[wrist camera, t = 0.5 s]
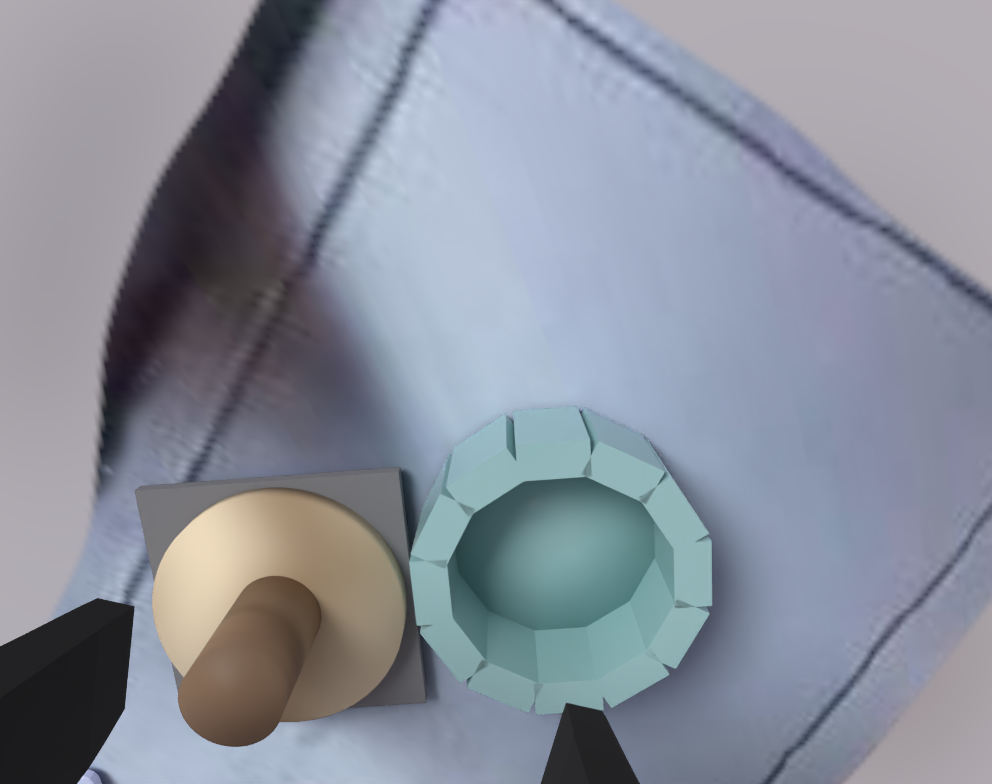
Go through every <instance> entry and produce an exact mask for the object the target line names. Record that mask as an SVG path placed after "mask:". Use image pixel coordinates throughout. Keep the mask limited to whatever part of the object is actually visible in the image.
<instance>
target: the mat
mask: <svg viewBox="0 0 992 784" xmlns="http://www.w3.org/2000/svg"><path fill="white" fill-rule="evenodd" d="M275 487H284V488H293V489H301V490H305V491H309V492H314V493H317V494H320V495H323V496H325V497H328V498H331V499H333V500H335V501H337V502H339V503H341V504H343V505H345V506H347V507H348V508H350V509H351V510H353V511H354V512H356V513H357V514H359V515H360V516H361V517H363V518H364V519H365V520H366V521H367V522H368V523H369V524H371V525H372V526H373V527H374V528H375V529H376V531H377V532H378V533H379V534H380V535H381V536H382V537H383V538H384V540H385V541H386V543H387V544H388V546H389V547H390V549H391V550H392V552H393V554H394V556H395V558H396V560H397V562H398V564H399V566H400V569H401V572H402V575H403V578H404V583H405V588H406V593H407V614H406V622H405V627H404V631H403V635H402V639H401V643H400V647H399V651H398V653H397V655H396V658H395V660H394V662H393V664H392V666H391V667H390V669H389V671H388V672H387V674H386V676H385V677H384V678H383V679H382V680H381V682H380V683H379V684H378V685H377V686H376V687H375V688H374V689H373V690H372V691H371V692H370V693H369V694H368V695H367V696H365V697H364V698H362V699H361V700H360V701H358V702H357V703H355V704H354V705H352V706H350V707H348V708H352V707H367V706H383V705H398V704H413V703H426V700H427V688H426V680H425V671H424V663H423V655H422V646H421V638H420V629H419V626H417V624H416V616H415V607H414V599H413V591H412V582H411V574H410V565H409V561H410V557H411V553H410V545H409V537H408V528H407V520H406V511H405V503H404V495H403V486H402V478H401V469H400V467H394V468H380V469H367V470H353V471H339V472H326V473H312V474H298V475H285V476H271V477H257V478H244V479H230V480H216V481H202V482H189V483H175V484H161V485H148V486H140V487H139V488H138V489H136V490H135V495H136V500H137V505H138V509H139V514H140V518H141V523H142V528H143V532H144V537H145V542H146V546H147V551H148V555H149V560H150V565H151V569H152V574H153V579H154V581H155V577H156V574H157V570H158V567H159V564H160V562H161V560H162V558H163V556H164V554H165V552H166V551H167V549H168V548H169V546H170V545H171V543H172V542H173V541H174V539H175V538H176V537H177V536H178V535H179V534H180V533H181V532H182V531H183V530H184V529H185V528H186V527H187V526H188V524H189V523H190V522H191V521H192V520H193V519H194V518H195V517H197V516H198V515H199V514H200V513H202V512H203V511H204V510H205V509H207V508H208V507H210V506H211V505H213V504H215V503H217V502H218V501H220V500H222V499H224V498H227V497H229V496H232V495H234V494H237V493H241V492H244V491H248V490H253V489H260V488H275ZM172 666H173V671H174V676H175V680H176V685H177V690H178V692H179V687H180V684H181V682H182V680H183V678H184V677H183V676H182V675H181V673H180V672H179V671H178V670H177V668H176V667H175V666H174V665H173V663H172Z"/></svg>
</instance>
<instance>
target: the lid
mask: <svg viewBox="0 0 992 784" xmlns="http://www.w3.org/2000/svg"><path fill="white" fill-rule="evenodd" d="M406 614H407V593H406V588H405V583H404V578H403V575H402V572H401V569H400V566H399V564H398V562H397V560H396V558H395V556H394V554H393V552H392V550H391V549H390V547H389V546H388V544H387V543H386V541H385V540H384V538H383V537H382V536H381V535H380V534H379V533H378V532H377V531H376V529H375V528H374V527H373V526H372V525H371V524H369V523H368V522H367V521H366V520H365V519H364V518H363V517H361V516H360V515H359V514H357V513H356V512H354V511H353V510H351V509H350V508H348V507H347V506H345V505H343V504H341V503H339V502H337V501H335V500H333V499H331V498H328V497H325V496H323V495H320V494H317V493H314V492H309V491H305V490H301V489H293V488H284V487H275V488H260V489H253V490H248V491H244V492H241V493H237V494H234V495H232V496H229V497H227V498H224V499H222V500H220V501H218V502H217V503H215V504H213V505H211V506H210V507H208V508H207V509H205V510H204V511H203V512H202V513H200V514H199V515H198V516H197V517H195V518H194V519H193V520H192V521H191V522H190V523H189V524H188V526H187V527H186V528H185V529H184V530H183V531H182V532H181V533H180V534H179V535H178V536H177V537H176V538H175V539H174V541H173V542H172V543H171V545H170V546H169V548H168V549H167V551H166V552H165V554H164V556H163V558H162V560H161V562H160V564H159V567H158V570H157V574H156V577H155V581H154V588H153V615H154V622H155V626H156V629H157V633H158V636H159V639H160V641H161V643H162V645H163V648H164V650H165V652H166V653H167V655H168V657H169V658H170V660H171V662H172V663H173V665H174V666H175V667H176V668H177V670H178V671H179V672H180V673H181V675H182V676H183V677H184V678H183V680H182V682H181V684H180V687H179V692H178V703H179V708H180V711H181V713H182V716H183V718H184V719H185V721H186V723H187V724H188V725H189V726H190V727H191V728H192V729H193V730H194V731H195V732H196V733H197V734H198V735H200V736H201V737H203V738H205V739H206V740H208V741H211V742H213V743H216V744H219V745H223V746H231V747H240V746H247V745H251V744H254V743H257V742H259V741H261V740H263V739H264V738H266V737H267V736H269V735H270V734H271V733H272V732H273V731H274V729H275V728H276V727H277V725H278V723H279V722H300V721H308V720H314V719H318V718H322V717H327V716H329V715H332V714H335V713H337V712H340V711H342V710H344V709H346V708H348V707H350V706H352V705H354V704H355V703H357V702H358V701H360V700H361V699H362V698H364V697H365V696H367V695H368V694H369V693H370V692H371V691H372V690H373V689H374V688H375V687H376V686H377V685H378V684H379V683H380V682H381V680H382V679H383V678H384V677H385V676H386V674H387V672H388V671H389V669H390V667H391V666H392V664H393V662H394V660H395V658H396V655H397V653H398V651H399V647H400V643H401V639H402V635H403V631H404V627H405V622H406Z"/></svg>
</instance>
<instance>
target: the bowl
mask: <svg viewBox="0 0 992 784" xmlns="http://www.w3.org/2000/svg"><path fill="white" fill-rule="evenodd" d="M513 416H514V424H513V423H512V422H511V420H510V419H509V417H508V416H507V415H506V414H504V415H503V416H501V417H500V418H498V419H497V420H495V421H493V422H492V423H490V424H489V425H487V426H486V427H484V428H483V429H481V430H480V431H478V432H477V433H475V434H474V435H472V436H471V437H469V438H468V439H466V440H465V441H463V442H462V443H460V444H459V445H457V446H456V447H454V449H453V454H452V455H451V454H448V456H447V458H446V460H445V462H444V464H443V466H442V468H441V470H440V472H439V474H438V477H437V479H436V481H435V483H434V485H433V487H432V489H431V491H430V493H429V495H428V497H427V499H426V501H425V503H424V505H423V509H422V512H421V516H420V520H419V524H418V528H417V531H416V535H415V539H414V543H413V547H412V550H411V557H410V561H409V565H410V574H411V582H412V591H413V599H414V607H415V616H416V624H417V626H420V625H421V629H420V634H421V635H422V636H423V638H424V639H425V640H426V641H427V643H428V644H429V645H430V646H431V648H432V649H433V650H434V651H435V653H436V654H437V655H438V656H439V658H440V659H441V660H442V661H443V663H444V664H445V665H446V666H447V667H448V669H449V670H450V671H451V672H452V674H453V675H454V676H455V677H456V679H457V680H458V681H459V682H460V683H461V682H463V681H464V680H466V679H467V688H468V689H470V690H473V691H475V692H478V693H480V694H482V695H485V696H487V697H490V698H492V699H494V700H497V701H499V702H502V703H504V704H506V705H509V706H511V707H514V708H516V709H518V710H521V711H523V712H526V713H528V712H529V710H530V709H531V707H532V705H533V703H534V702H535V708H536V715H539V714H555V713H563V710H564V707H565V704H566V703H570V704H575V705H579V706H584V707H588V708H593V709H597V710H604V709H603V697H604V699H605V700H606V701H607V703H608V704H609V705H610V707H611V708H612V707H614V706H616V705H618V704H619V703H621V702H623V701H625V700H626V699H628V698H630V697H632V696H633V695H635V694H637V693H639V692H640V691H642V690H644V689H646V688H647V687H649V686H651V685H653V684H654V683H656V682H658V681H660V680H661V679H663V678H665V677H667V676H668V675H670V674H669V671H668V668H667V666H666V665H668V666H670V667H672V668H675V669H676V668H677V666H678V664H679V663H680V661H681V660H682V658H683V656H684V655H685V653H686V652H687V650H688V648H689V647H690V645H691V643H692V642H693V640H694V639H695V637H696V635H697V634H698V632H699V630H700V629H701V627H702V626H703V624H704V622H705V621H706V619H707V617H708V616H709V614H710V613H709V611H708V609H707V607H706V606H712V541H711V539H710V538H709V536H708V535H707V534H709V532H708V531H707V529H706V528H705V526H704V524H703V523H702V521H701V520H700V518H699V517H698V515H697V514H696V512H695V511H694V509H693V507H692V506H691V504H690V503H689V501H688V500H687V498H686V497H685V495H684V493H683V492H682V490H681V489H680V487H679V486H678V484H677V483H676V481H675V480H674V478H673V477H672V475H671V474H670V472H669V471H668V469H667V468H666V466H665V465H664V463H663V462H662V460H661V459H660V457H659V456H658V454H657V453H656V451H655V450H654V448H653V447H652V445H651V444H650V442H649V441H648V439H646V440H645V439H644V437H643V436H642V434H641V433H638V432H636V431H634V430H632V429H630V428H628V427H626V426H623V425H621V424H619V423H617V422H615V421H613V420H611V419H608V418H606V417H604V416H602V415H600V414H598V413H596V412H593V411H591V410H589V409H587V408H584V410H583V412H582V414H581V415H580V412H579V410H578V407H577V406H572V407H558V408H545V409H532V410H518V411H513Z"/></svg>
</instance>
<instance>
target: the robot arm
mask: <svg viewBox="0 0 992 784" xmlns="http://www.w3.org/2000/svg"><path fill="white" fill-rule="evenodd" d="M133 617H134V606H130V605H126V604H121V603H117V602H112V601H108V600H103V599H99V598H97V599H95V600H93V601H91V602H88V603H86V604H84V605H82V606H80V607H78V608H76V609H74V610H72V611H70V612H68V613H66V614H64V615H62V616H60V617H58V618H56V619H54V620H52V621H50V622H48V623H46V624H44V625H42V626H40V627H38V628H36V629H35V630H32V631H30V632H29V633H26V634H25V635H23V636H21V637H19V638H16V639H14V640H12V641H10V642H8V643H6V644H4V645H2V646H0V784H102V783H101V779H100V777H99V776H98V774H96V773H95V772H94V771H92V770H89V767H90V765H91V764H92V762H93V761H94V759H95V757H96V756H97V754H98V753H99V751H100V749H101V748H102V746H103V745H104V743H105V741H106V740H107V738H108V736H109V735H110V733H111V731H112V729H113V728H114V726H115V724H116V723H117V721H118V719H119V718H120V716H121V714H122V713H123V711H124V709H125V699H126V689H127V679H128V668H129V658H130V648H131V637H132V627H133ZM541 784H640V783H639V782H638V780H637V778H636V776H635V774H634V772H633V770H632V768H631V766H630V764H629V762H628V760H627V758H626V756H625V754H624V752H623V750H622V748H621V746H620V744H619V742H618V740H617V738H616V736H615V734H614V732H613V730H612V728H611V726H610V724H609V722H608V720H607V718H606V716H605V715H604V713H603V711H602V710H597V709H593V708H588V707H584V706H579V705H575V704H570V703H566V704H565V707H564V710H563V714H562V717H561V720H560V723H559V727H558V730H557V733H556V736H555V740H554V743H553V746H552V749H551V752H550V756H549V759H548V762H547V765H546V769H545V772H544V775H543V778H542V782H541Z"/></svg>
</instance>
